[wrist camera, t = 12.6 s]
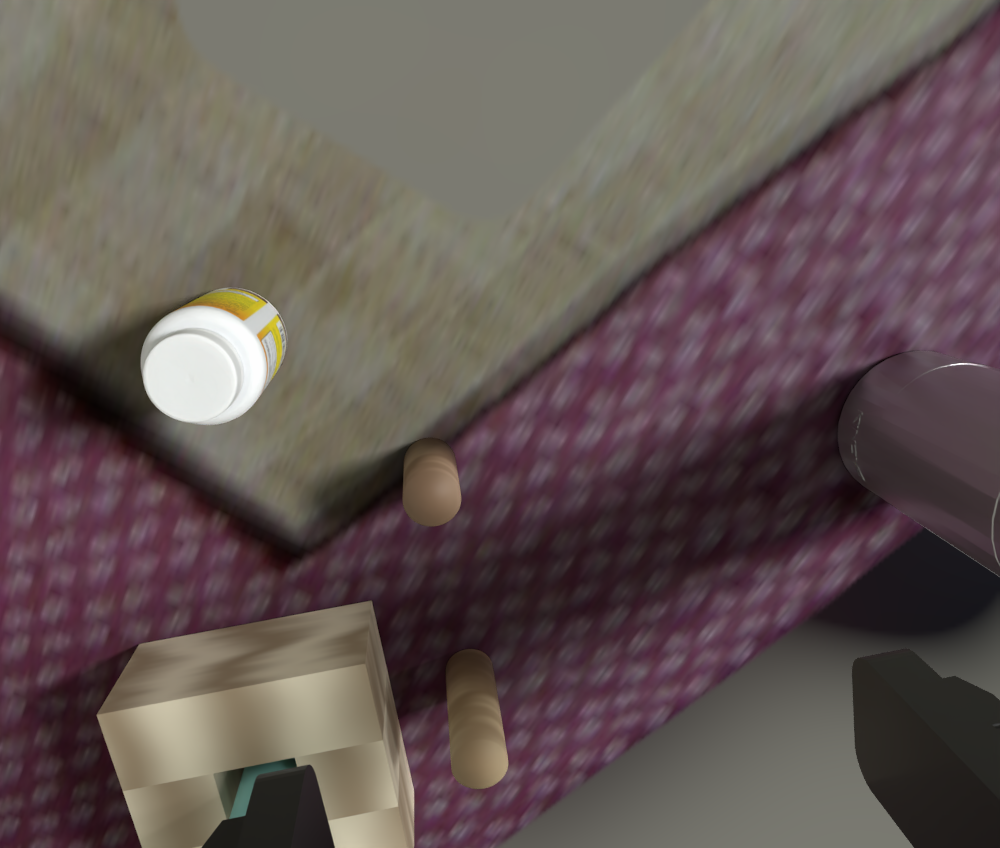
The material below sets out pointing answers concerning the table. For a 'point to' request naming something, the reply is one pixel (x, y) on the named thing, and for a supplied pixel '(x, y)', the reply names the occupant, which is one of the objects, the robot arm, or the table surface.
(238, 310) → the supplement bottle
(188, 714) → the hole block
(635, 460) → the table surface
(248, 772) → the long pin
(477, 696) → the medium pin
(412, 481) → the short pin
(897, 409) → the robot arm
